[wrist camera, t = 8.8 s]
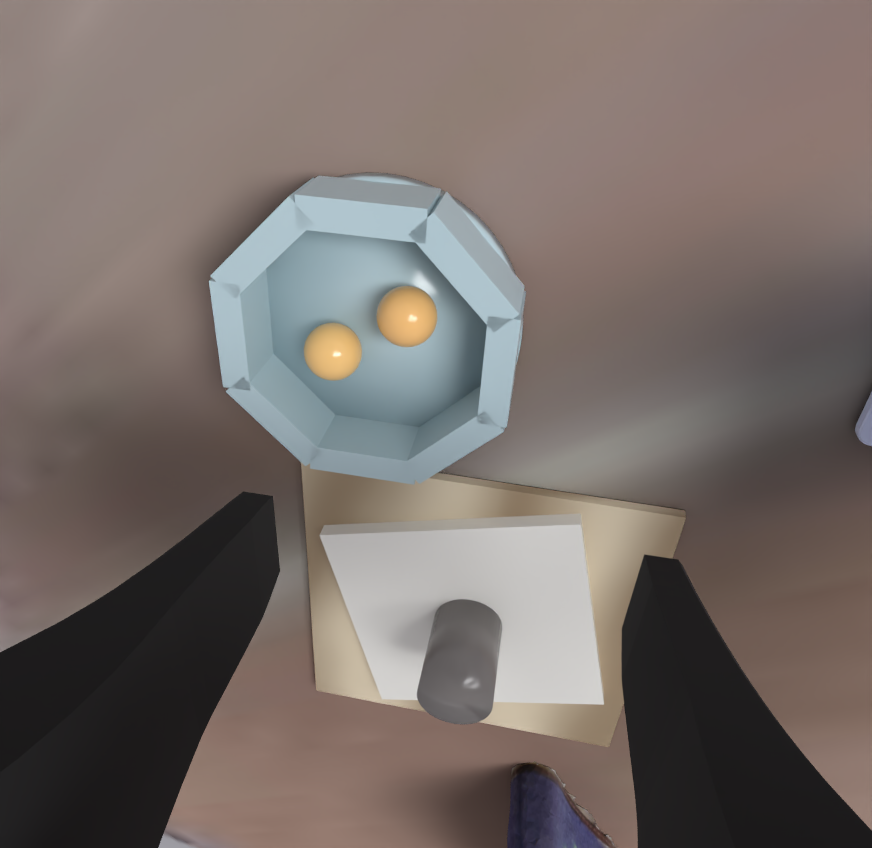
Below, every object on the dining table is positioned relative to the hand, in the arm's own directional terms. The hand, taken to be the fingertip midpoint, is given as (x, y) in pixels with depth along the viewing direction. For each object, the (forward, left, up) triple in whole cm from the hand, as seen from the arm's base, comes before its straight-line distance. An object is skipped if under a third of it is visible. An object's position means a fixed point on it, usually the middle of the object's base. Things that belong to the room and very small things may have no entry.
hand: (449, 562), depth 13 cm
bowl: (+4, 0, -10) cm, 11 cm away
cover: (0, +13, -10) cm, 16 cm away
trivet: (0, +13, -10) cm, 17 cm away
